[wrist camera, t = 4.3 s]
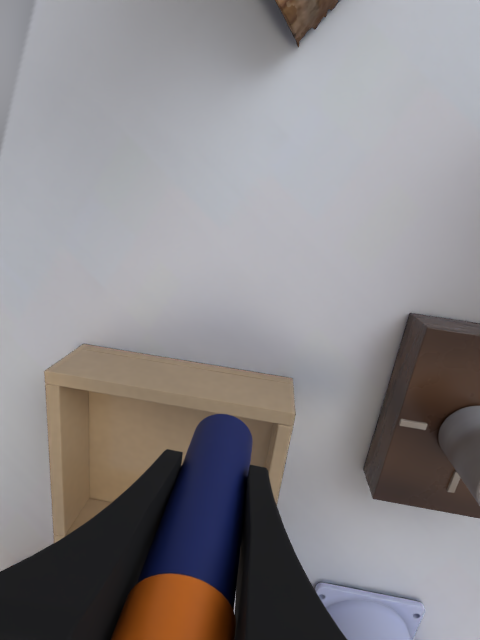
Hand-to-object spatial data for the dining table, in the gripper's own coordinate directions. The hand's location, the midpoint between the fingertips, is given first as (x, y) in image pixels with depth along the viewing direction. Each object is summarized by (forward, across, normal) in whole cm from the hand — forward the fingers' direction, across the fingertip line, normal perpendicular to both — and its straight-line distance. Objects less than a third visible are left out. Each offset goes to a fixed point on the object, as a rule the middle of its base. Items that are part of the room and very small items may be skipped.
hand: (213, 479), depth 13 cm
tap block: (+9, -13, 0) cm, 16 cm away
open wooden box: (+9, +3, +6) cm, 12 cm away
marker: (+2, 0, 0) cm, 2 cm away
